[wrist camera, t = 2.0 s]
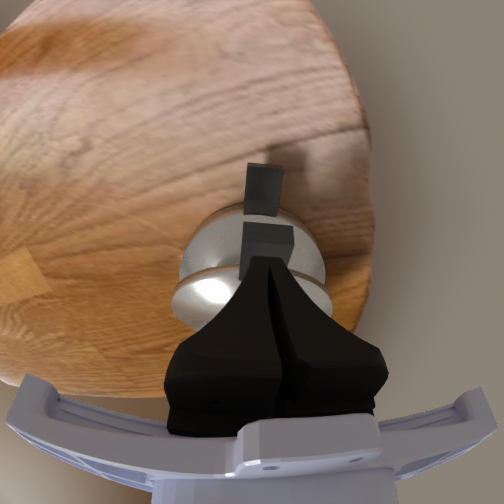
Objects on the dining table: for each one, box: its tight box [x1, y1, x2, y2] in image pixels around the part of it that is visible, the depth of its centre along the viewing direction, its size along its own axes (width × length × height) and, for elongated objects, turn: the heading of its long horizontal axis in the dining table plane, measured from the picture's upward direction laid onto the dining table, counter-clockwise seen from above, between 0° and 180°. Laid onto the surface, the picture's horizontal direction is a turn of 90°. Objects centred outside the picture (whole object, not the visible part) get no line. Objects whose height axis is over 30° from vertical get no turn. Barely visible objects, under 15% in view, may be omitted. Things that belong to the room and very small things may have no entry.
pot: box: [179, 163, 325, 285], centre depth 23 cm, size 17×12×3 cm
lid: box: [171, 221, 333, 331], centre depth 19 cm, size 16×12×2 cm
